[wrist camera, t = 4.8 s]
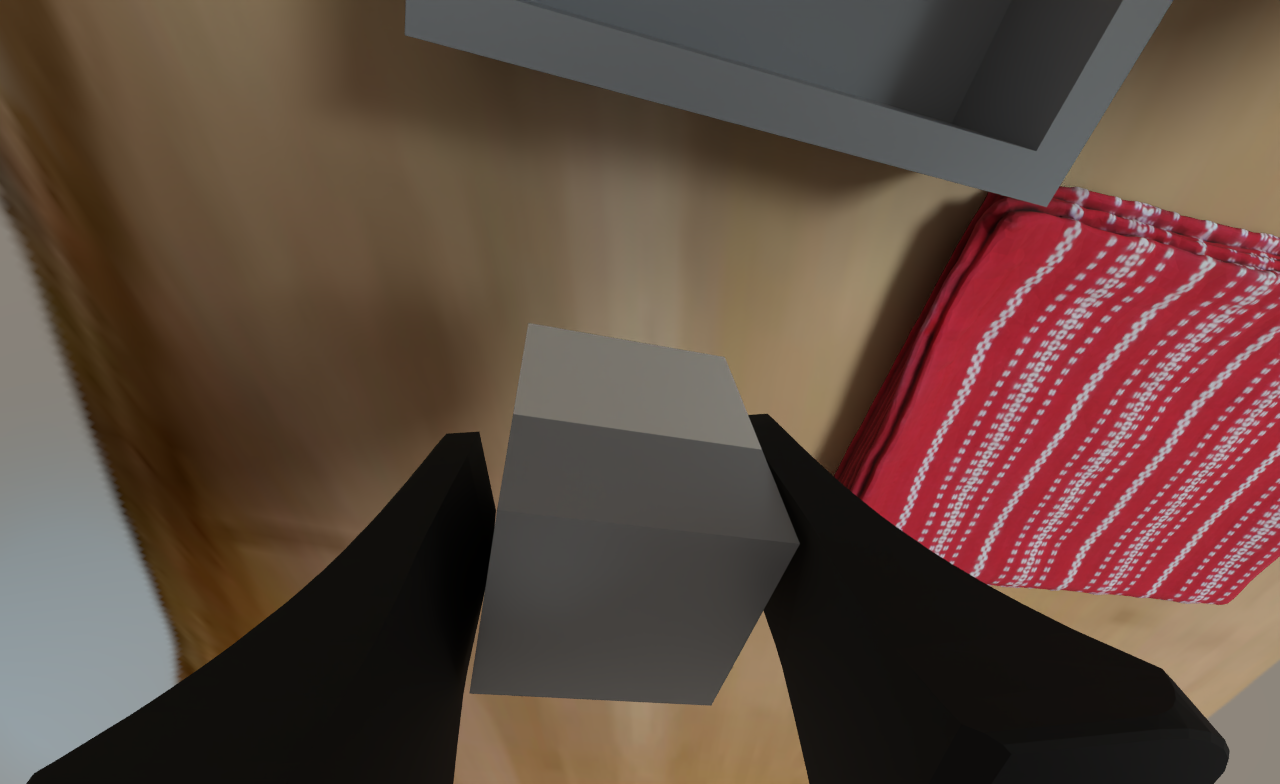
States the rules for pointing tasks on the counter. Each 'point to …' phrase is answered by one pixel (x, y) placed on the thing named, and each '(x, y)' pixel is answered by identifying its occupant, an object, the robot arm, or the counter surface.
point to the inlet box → (843, 70)
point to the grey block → (627, 526)
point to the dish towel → (1088, 404)
